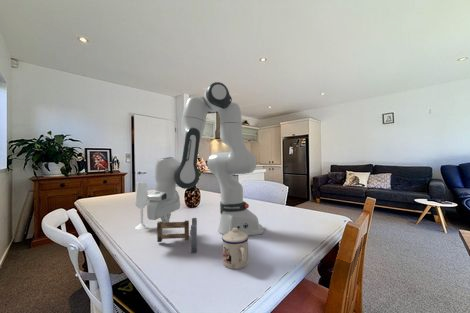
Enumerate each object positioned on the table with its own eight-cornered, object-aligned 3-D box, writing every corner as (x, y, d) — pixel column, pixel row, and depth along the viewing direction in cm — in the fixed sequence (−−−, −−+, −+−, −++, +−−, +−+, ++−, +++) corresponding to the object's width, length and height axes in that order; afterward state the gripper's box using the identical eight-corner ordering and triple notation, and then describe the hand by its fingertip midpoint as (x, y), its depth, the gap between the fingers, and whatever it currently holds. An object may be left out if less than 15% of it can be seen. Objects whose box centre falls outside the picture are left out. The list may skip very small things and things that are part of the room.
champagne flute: (149, 227, 104) (149, 182, 104) (135, 230, 100) (135, 183, 100) (147, 224, 109) (147, 181, 110) (134, 226, 106) (133, 182, 106)
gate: (189, 239, 86) (189, 220, 86) (188, 241, 83) (188, 222, 83) (158, 240, 85) (158, 221, 85) (156, 243, 82) (156, 223, 83)
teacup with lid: (218, 259, 70) (218, 226, 70) (241, 253, 73) (241, 222, 73) (231, 277, 58) (230, 238, 59) (258, 270, 62) (257, 233, 62)
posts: (199, 240, 86) (199, 217, 86) (196, 252, 75) (196, 226, 75) (192, 240, 86) (192, 217, 86) (188, 253, 74) (187, 226, 75)
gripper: (172, 189, 99) (172, 217, 99) (144, 197, 79) (144, 231, 79) (183, 189, 98) (183, 217, 98) (157, 197, 78) (157, 232, 78)
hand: (165, 224), depth 88 cm, fingers closed
